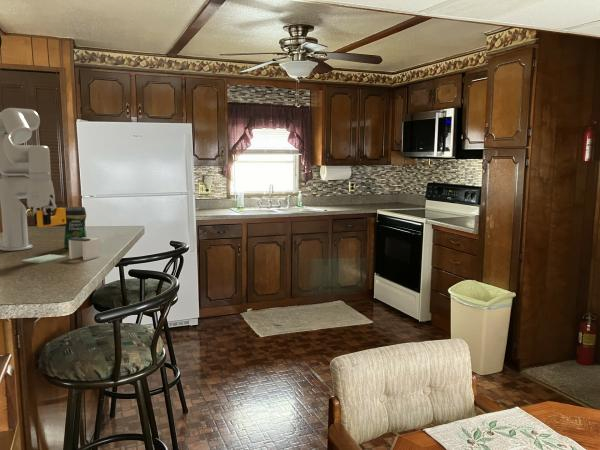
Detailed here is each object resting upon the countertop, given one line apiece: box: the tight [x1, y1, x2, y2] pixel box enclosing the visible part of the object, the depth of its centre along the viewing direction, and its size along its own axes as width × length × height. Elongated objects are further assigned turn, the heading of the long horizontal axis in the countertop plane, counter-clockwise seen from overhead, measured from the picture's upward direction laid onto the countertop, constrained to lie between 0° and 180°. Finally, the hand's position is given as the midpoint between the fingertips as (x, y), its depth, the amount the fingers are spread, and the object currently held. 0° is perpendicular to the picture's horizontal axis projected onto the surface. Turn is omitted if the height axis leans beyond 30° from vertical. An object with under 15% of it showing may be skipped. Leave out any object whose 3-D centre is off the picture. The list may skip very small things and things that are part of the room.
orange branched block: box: [36, 207, 66, 228], centre depth 200 cm, size 12×4×6 cm, turn 161°
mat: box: [21, 254, 67, 264], centre depth 198 cm, size 9×13×1 cm
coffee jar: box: [63, 206, 88, 250], centre depth 224 cm, size 10×8×19 cm
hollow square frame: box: [68, 237, 101, 261], centre depth 202 cm, size 8×8×8 cm
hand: (43, 223), depth 196 cm, fingers closed on orange branched block, 3 cm apart
